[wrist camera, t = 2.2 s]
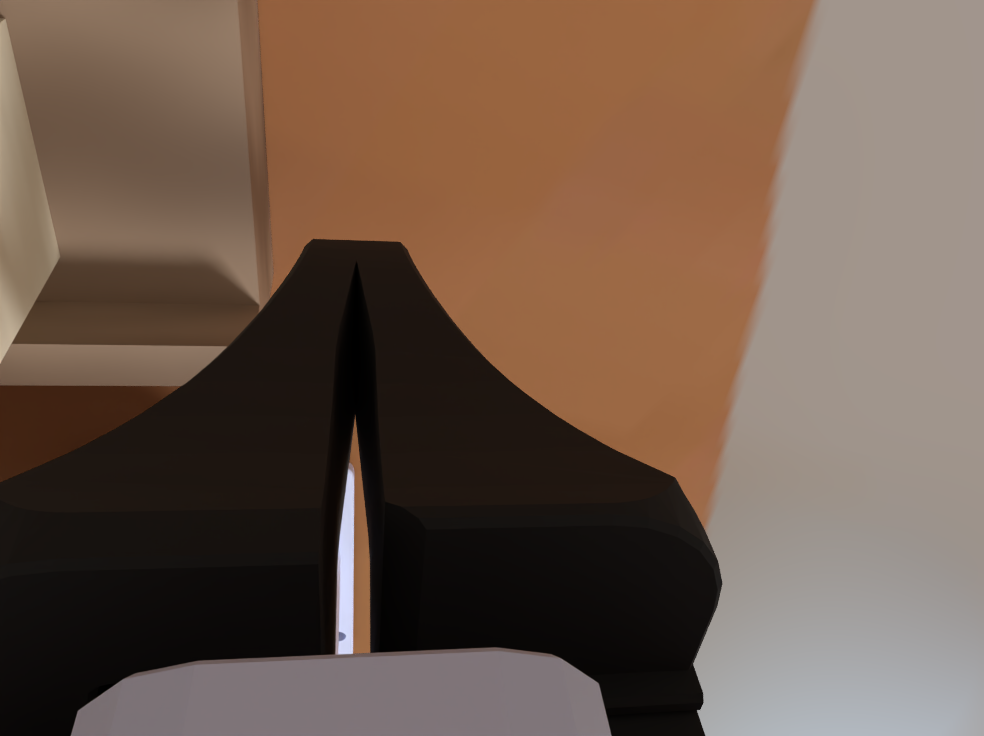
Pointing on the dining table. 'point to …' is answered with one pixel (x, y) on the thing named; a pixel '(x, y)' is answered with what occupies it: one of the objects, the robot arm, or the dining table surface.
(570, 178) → the dining table surface
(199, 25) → the trap box
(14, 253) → the maple block
